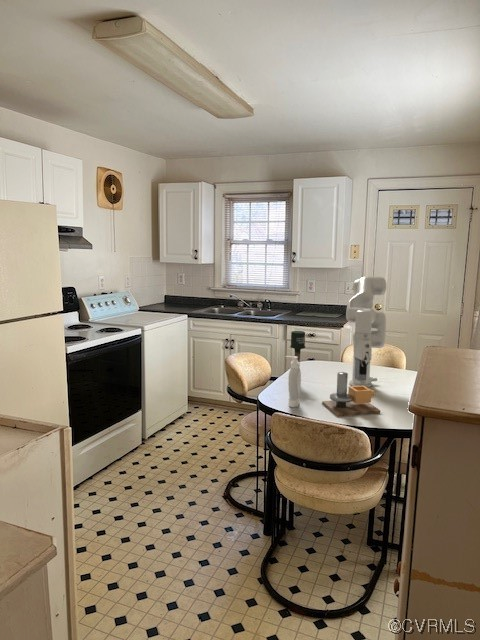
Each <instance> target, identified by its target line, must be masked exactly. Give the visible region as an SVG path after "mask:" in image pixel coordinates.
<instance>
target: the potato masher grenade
mask: <svg viewBox="0 0 480 640" xmlns="http://www.w3.org/2000/svg"><path fill="white" fill-rule="evenodd" d="M290 334H291V335H290V346H289V347H290V349H294V356H297V357H298V358H297V361H298V362H299V363H300V360H301V351H302V349H305V348H306V345H305V344H306V331H304V330H292V331H291V332H290ZM300 364H301V363H300Z"/></svg>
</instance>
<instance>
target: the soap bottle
mask: <svg viewBox="0 0 480 640" xmlns="http://www.w3.org/2000/svg"><path fill="white" fill-rule="evenodd" d="M285 358H290V359H292V360H291V362H290V369H289V373H288V393H289V395H288V396H289V398H288V404H287V405H288V407H290V408H296V407H298V406H299V405H300V393H301V386H302V385H301V382H302V375H301V374H302V373H301V372H302V371H301V367H300V365H301V363H299V362H298V361H297V358H298V357H297V356H295V355H294V356H292V355H285Z"/></svg>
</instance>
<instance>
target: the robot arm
mask: <svg viewBox="0 0 480 640" xmlns="http://www.w3.org/2000/svg"><path fill="white" fill-rule="evenodd" d="M352 289H353V294H354V296H353V297H351V298H350V299H349V301H347V306H346V312H345V319H346V321H347V322H349V323H351V324H352V323H355V325H354V332H353V334H352V345H353V355H352V357H353V358H352V377H351V380H349V382H348V383H349V385H350V386H365V387H367V388H371V387H372V386H373V382H378V378H377V377H373V376H372V377H371V376H370V375H371V374H370V373H371V361H372V348H373V349H374V348H375V349H382V348H384V346H385V343H386V329H387V328H386V327H387V318H386V314H385V313H384V312H383V311H376V310H375V309H374V308H373V304H374V302H373V301H374V299H375V296H384V294H385V293H386V291H387V280H386V279H385V278H384V277H382V276H363V277H361V278H359V279H356V280H355V281H353V284H352ZM372 329H376V330H372ZM356 358H358V359H360V360H361V366H360V375H366V380H362V381H358V380H356V379H355V361H356ZM364 359H365V360H364ZM363 361H365V362H364V363H363Z"/></svg>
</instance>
